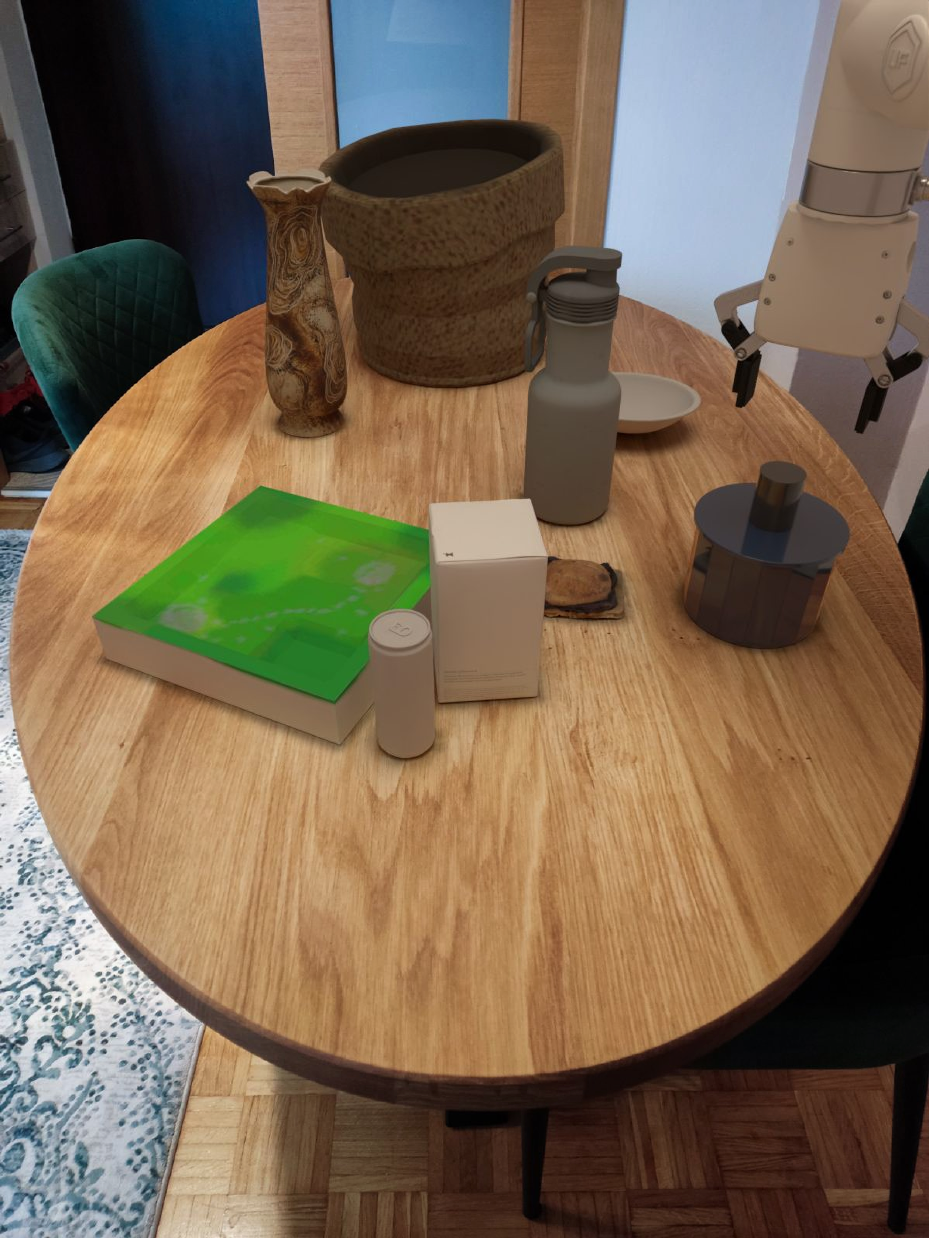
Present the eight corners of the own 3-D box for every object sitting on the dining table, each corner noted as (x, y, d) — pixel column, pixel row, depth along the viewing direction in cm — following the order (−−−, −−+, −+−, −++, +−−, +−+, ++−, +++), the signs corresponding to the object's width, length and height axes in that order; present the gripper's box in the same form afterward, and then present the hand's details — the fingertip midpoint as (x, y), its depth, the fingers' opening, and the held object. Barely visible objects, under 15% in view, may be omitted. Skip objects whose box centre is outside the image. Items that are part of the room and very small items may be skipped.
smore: (622, 573, 91) (626, 543, 89) (624, 624, 84) (628, 593, 82) (519, 566, 92) (521, 536, 90) (513, 616, 85) (515, 585, 83)
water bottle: (509, 518, 99) (519, 261, 81) (531, 477, 106) (544, 233, 89) (598, 534, 96) (628, 272, 79) (615, 490, 104) (645, 242, 86)
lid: (861, 516, 83) (880, 458, 79) (826, 592, 73) (846, 530, 70) (719, 479, 88) (730, 423, 84) (670, 545, 79) (681, 485, 75)
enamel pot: (829, 593, 88) (855, 512, 82) (797, 665, 80) (823, 581, 74) (707, 556, 93) (724, 477, 87) (664, 620, 85) (679, 538, 79)
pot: (368, 304, 153) (354, 107, 134) (567, 317, 148) (582, 114, 129) (300, 387, 126) (271, 156, 108) (540, 407, 121) (553, 168, 102)
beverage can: (402, 711, 75) (395, 599, 68) (447, 735, 73) (445, 622, 65) (365, 744, 72) (353, 632, 65) (411, 770, 70) (404, 657, 62)
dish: (557, 452, 111) (560, 416, 108) (560, 403, 122) (563, 368, 119) (699, 460, 109) (706, 423, 106) (689, 409, 120) (695, 375, 117)
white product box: (540, 699, 76) (551, 557, 67) (437, 705, 76) (433, 563, 66) (525, 632, 83) (533, 495, 74) (431, 638, 83) (426, 500, 73)
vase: (262, 415, 119) (224, 173, 100) (335, 398, 123) (312, 163, 105) (290, 447, 112) (255, 193, 93) (366, 428, 116) (347, 181, 97)
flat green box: (266, 524, 98) (260, 485, 95) (469, 581, 90) (469, 540, 86) (106, 658, 80) (91, 616, 77) (340, 744, 72) (334, 700, 69)
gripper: (995, 193, 62) (919, 420, 72) (751, 168, 69) (714, 378, 79) (983, 217, 56) (904, 457, 67) (720, 187, 64) (685, 409, 74)
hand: (801, 414), depth 73 cm, fingers open, 9 cm apart
